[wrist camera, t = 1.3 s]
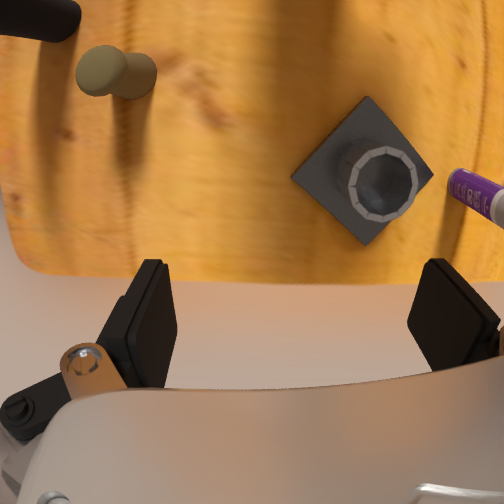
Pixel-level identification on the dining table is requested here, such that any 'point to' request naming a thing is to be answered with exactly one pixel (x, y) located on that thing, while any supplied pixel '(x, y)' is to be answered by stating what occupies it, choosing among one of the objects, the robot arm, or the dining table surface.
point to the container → (478, 194)
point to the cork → (115, 73)
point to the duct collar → (364, 172)
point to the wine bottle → (39, 19)
